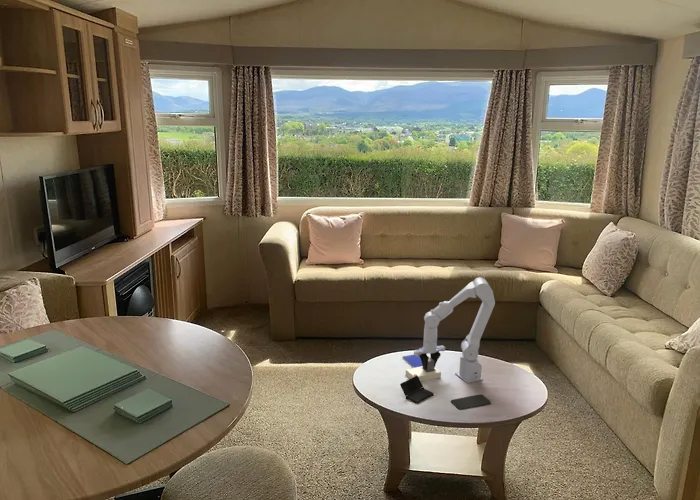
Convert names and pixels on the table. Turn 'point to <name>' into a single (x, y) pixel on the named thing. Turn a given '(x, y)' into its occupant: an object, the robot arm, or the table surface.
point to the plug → (430, 365)
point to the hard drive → (413, 360)
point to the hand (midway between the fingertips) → (428, 368)
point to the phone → (470, 402)
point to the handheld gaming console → (415, 390)
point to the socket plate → (423, 373)
